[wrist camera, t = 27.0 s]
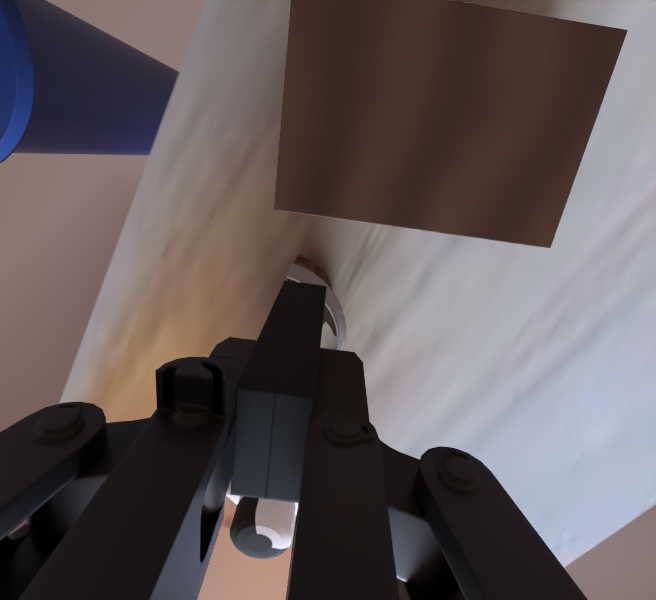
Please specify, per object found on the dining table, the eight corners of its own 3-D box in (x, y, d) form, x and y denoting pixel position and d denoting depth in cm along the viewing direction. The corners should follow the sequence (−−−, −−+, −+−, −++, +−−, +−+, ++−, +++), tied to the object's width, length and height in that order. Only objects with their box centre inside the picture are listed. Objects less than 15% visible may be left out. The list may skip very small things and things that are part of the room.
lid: (275, 208, 27) (273, 210, 27) (294, -20, 22) (293, -26, 22) (544, 246, 28) (550, 248, 27) (618, 33, 23) (628, 29, 23)
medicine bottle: (275, 481, 48) (256, 578, 37) (238, 445, 46) (206, 537, 35) (319, 455, 47) (312, 549, 35) (282, 417, 45) (262, 504, 34)
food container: (325, 361, 42) (321, 420, 32) (272, 347, 41) (253, 402, 32) (360, 259, 38) (367, 292, 28) (301, 241, 37) (288, 269, 28)
